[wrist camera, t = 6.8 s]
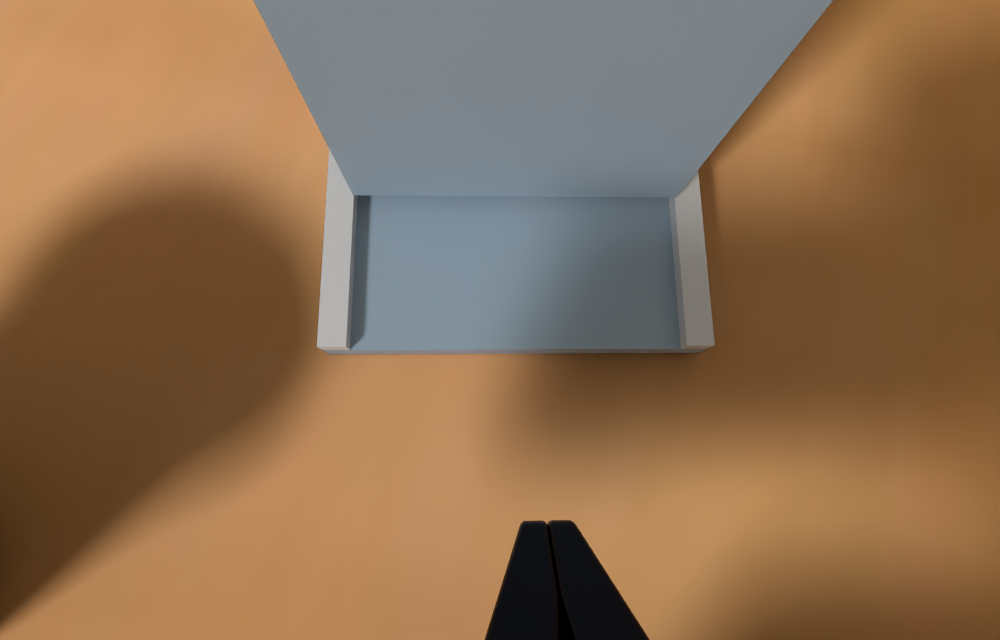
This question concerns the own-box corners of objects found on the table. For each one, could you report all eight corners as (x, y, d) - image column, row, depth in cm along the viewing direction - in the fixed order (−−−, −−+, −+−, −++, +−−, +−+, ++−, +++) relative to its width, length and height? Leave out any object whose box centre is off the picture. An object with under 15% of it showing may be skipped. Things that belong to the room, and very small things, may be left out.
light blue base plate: (697, 353, 17) (714, 345, 16) (329, 354, 17) (316, 347, 15) (663, -29, 20) (676, -61, 19) (352, -36, 20) (343, -69, 18)
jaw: (675, 197, 17) (955, -154, 7) (352, 195, 16) (162, -180, 6) (670, 128, 17) (922, -291, 7) (356, 125, 17) (185, -320, 7)
